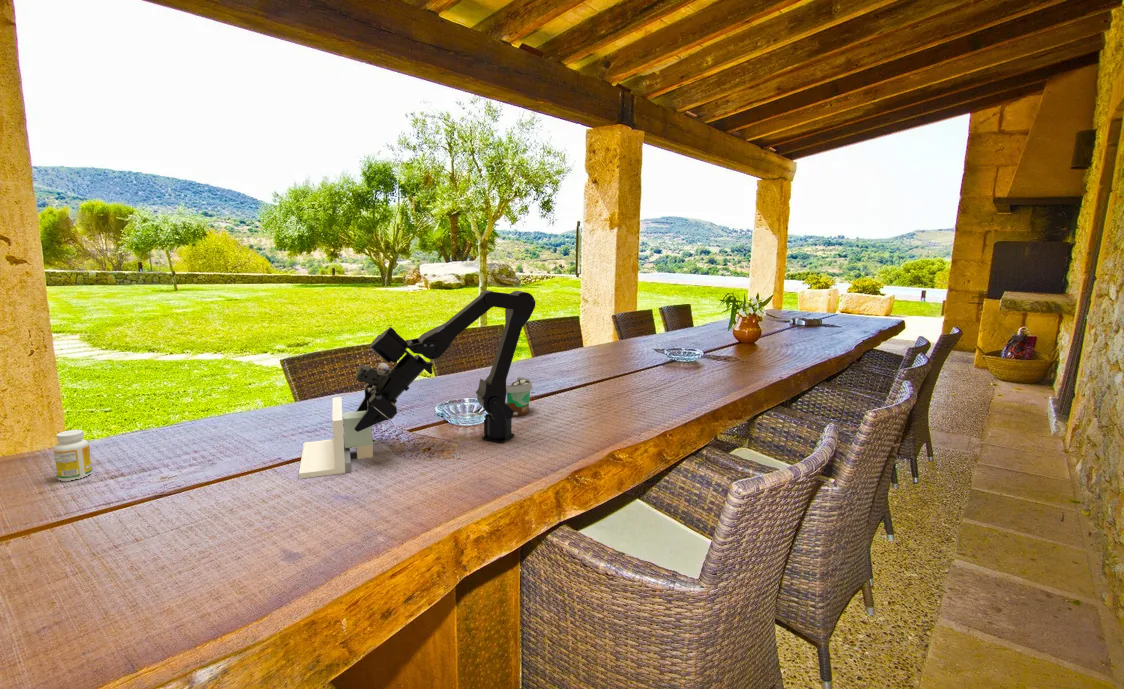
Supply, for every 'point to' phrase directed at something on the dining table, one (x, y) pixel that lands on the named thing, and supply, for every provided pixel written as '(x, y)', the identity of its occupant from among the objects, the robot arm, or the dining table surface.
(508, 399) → the food container
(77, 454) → the supplement bottle
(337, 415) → the cream l-shaped piece
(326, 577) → the dining table surface
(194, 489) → the dining table surface
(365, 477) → the dining table surface
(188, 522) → the dining table surface
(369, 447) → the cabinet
